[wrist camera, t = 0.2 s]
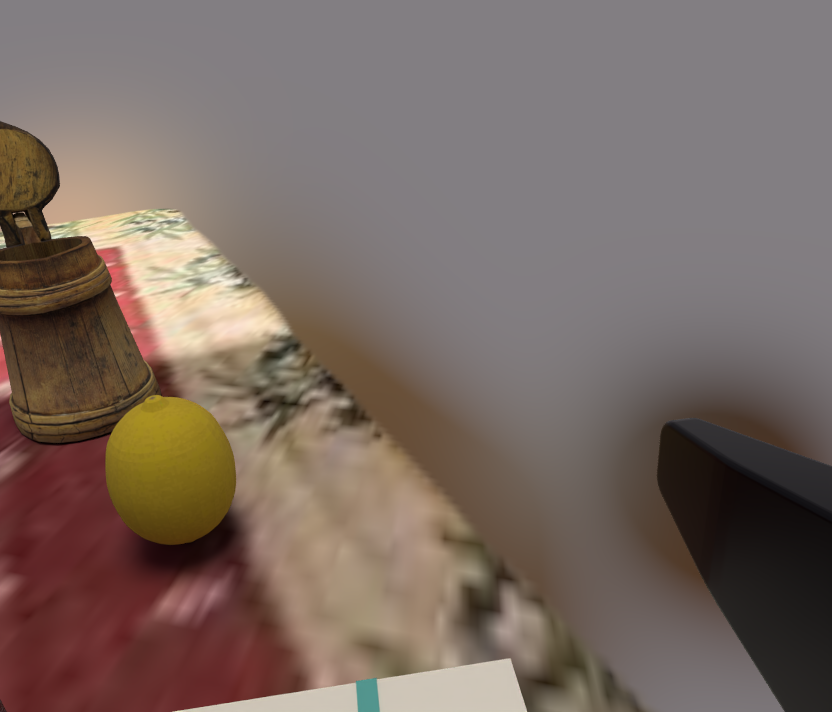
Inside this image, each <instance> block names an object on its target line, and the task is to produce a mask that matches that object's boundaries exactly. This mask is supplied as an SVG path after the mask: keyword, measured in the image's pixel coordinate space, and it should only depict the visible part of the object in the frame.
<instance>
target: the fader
mask: <svg viewBox="0 0 832 712" xmlns="http://www.w3.org/2000/svg"><path fill="white" fill-rule="evenodd" d="M0 712H6V710H5V708H4V706H3V704H2V702H1V700H0Z"/></svg>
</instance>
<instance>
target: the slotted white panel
mask: <svg viewBox="0 0 832 712" xmlns="http://www.w3.org/2000/svg"><path fill="white" fill-rule="evenodd" d="M175 712H527V710H526V707H525V704H524V701H523V697H522V694H521V691H520V688H519V685H518V681H517V678H516V675H515V672H514V669H513V666H512V662H511V659H503V660H497V661H491V662H484V663H478V664H472V665H466V666H459V667H453V668H447V669H440V670H434V671H428V672H421V673H415V674H409V675H402V676H396V677H390V678H384V679H377V678H373V679H367V680H361V681H356V683H352V684H346V685H339V686H333V687H327V688H320V689H314V690H308V691H302V692H295V693H289V694H283V695H276V696H270V697H264V698H257V699H251V700H245V701H238V702H232V703H226V704H220V705H213V706H207V707H201V708H194V709H188V710H182V711H175Z"/></svg>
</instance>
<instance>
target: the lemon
mask: <svg viewBox="0 0 832 712" xmlns="http://www.w3.org/2000/svg"><path fill="white" fill-rule="evenodd" d="M106 480H107V487H108V491H109V495H110V497H111V500H112V502H113V504H114V506H115V508H116V510H117V512H118V514H119V515H120V517H121V518H122V520H123V521H124V523H125V524H126V525H127V526H128V527H129V528H130V529H131V530H132V531H134V532H135V533H136V534H138V535H139V536H141V537H142V538H144V539H146V540H149V541H152V542H155V543H158V544H167V545H176V544H183V543H190V542H193V541H195V540H196V539H198V538H201V537H203V536H204V535H206V534H207V533H209V532H210V531H211V530H213V529H214V528H215V527H216V526H217V525H218V524H219V523H220V522H221V520H222V519H223V518H224V516H225V515H226V513H227V512H228V510H229V508H230V506H231V503H232V500H233V497H234V493H235V488H236V470H235V461H234V456H233V452H232V449H231V446H230V444H229V441H228V439H227V437H226V435H225V433H224V432H223V430H222V428H221V427H220V425H219V424H218V422H217V421H216V419H215V418H214V417H213V416H212V414H211V413H209V412H208V411H207V410H206V409H204V408H203V407H201V406H200V405H198V404H196V403H194V402H191V401H189V400H185V399H182V398H176V397H162V396H160V395H153V396H150V397H148V398H146V400H145V401H144V402H143V403H141V404H139V405H137V406H135V407H134V408H133V409H131V410H130V411H129V412H128V413H126V414H125V415H124V417H123V418H122V419H121V420H120V421H119V422H118V423H117V425H116V426H115V428H114V429H113V431H112V433H111V436H110V438H109V441H108V444H107V449H106Z"/></svg>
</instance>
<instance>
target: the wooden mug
mask: <svg viewBox="0 0 832 712" xmlns="http://www.w3.org/2000/svg"><path fill="white" fill-rule="evenodd" d="M59 187H60V181H59V172H58V167H57V165H56V162H55V160H54V157H53V156H52V154H51V152H50V150H49V149H48V148H47V147H46V146H45V145H44V144H43V143H42V142H41V141H40V140H39V139H38V138H36V137H35V136H33V135H32V134H30V133H28V132H27V131H24V130H22V129H20V128H18V127H15V126H12V125H9V124H7V123H4V122H1V121H0V226H1V229H2V232H3V234H4V238H5V243H6V247H7V248H3V249H0V334H1V339H2V344H3V349H4V354H5V359H6V364H7V369H8V374H9V379H10V385H11V390H12V393H11V395H10V401H9V402H10V406H11V410H12V414H13V418H14V421H15V423H16V425H17V427H18V428H19V430H20V432H21V433H22V434H23V435H24V436H26V437H28V438H30V439H32V440H35V441H39V442H50V443H63V442H73V441H80V440H84V439H88V438H92V437H96V436H100V435H103V434H106V433H109V432H112V431H113V429H114V428H115V426H116V425H117V423H118V422H119V421H120V420H121V419H122V418H123V417H124V415H125V414H126V413H128V412H129V411H130V410H131V409H133V408H134V407H135V406H137V405H139V404H141V403H143V402H144V401H145V400H146V398H148V397H150V396H153V395H160V396H161V391H160V388H159V385H158V383H157V381H156V378H155V376H154V373H153V371H152V369H151V367H150V366H149V365H148V363H147V362H145V361H144V360H143V358H142V355H141V353H140V351H139V349H138V347H137V344H136V342H135V340H134V338H133V335H132V333H131V331H130V329H129V327H128V324H127V322H126V320H125V318H124V316H123V313H122V311H121V309H120V307H119V305H118V302H117V300H116V297H115V295H114V293H113V290H112V288H111V285H110V284H111V282H112V278H111V276H110V273H109V271H108V269H107V267H106V264H105V262H104V260H103V258H102V257H101V256H99V255H97V253H96V250H95V248H94V246H93V244H92V242H91V240H90V238H88V237H86V236H77V237H67V238H58V239H51V234H50V231H49V229H48V226H47V223H46V221H45V218H44V215H43V213H42V209H43V208H44V207H45V206H46V205H47V204H48V203H49V202H50V201H51V200H52V199H53V197H54V195H55V194H56V192H57V190H58V189H59ZM17 212H25V214H26V215H25V214H24V213H17ZM13 213H15V214H14V215H13Z"/></svg>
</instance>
